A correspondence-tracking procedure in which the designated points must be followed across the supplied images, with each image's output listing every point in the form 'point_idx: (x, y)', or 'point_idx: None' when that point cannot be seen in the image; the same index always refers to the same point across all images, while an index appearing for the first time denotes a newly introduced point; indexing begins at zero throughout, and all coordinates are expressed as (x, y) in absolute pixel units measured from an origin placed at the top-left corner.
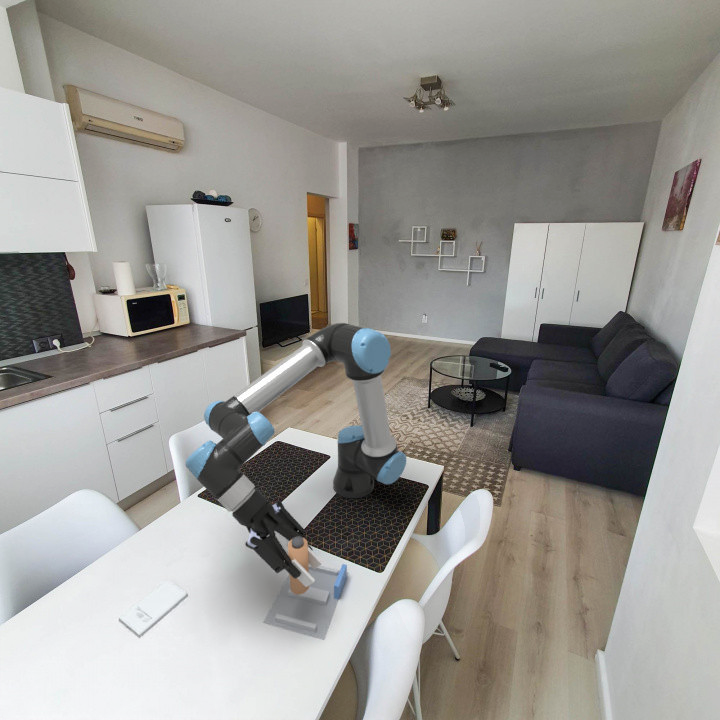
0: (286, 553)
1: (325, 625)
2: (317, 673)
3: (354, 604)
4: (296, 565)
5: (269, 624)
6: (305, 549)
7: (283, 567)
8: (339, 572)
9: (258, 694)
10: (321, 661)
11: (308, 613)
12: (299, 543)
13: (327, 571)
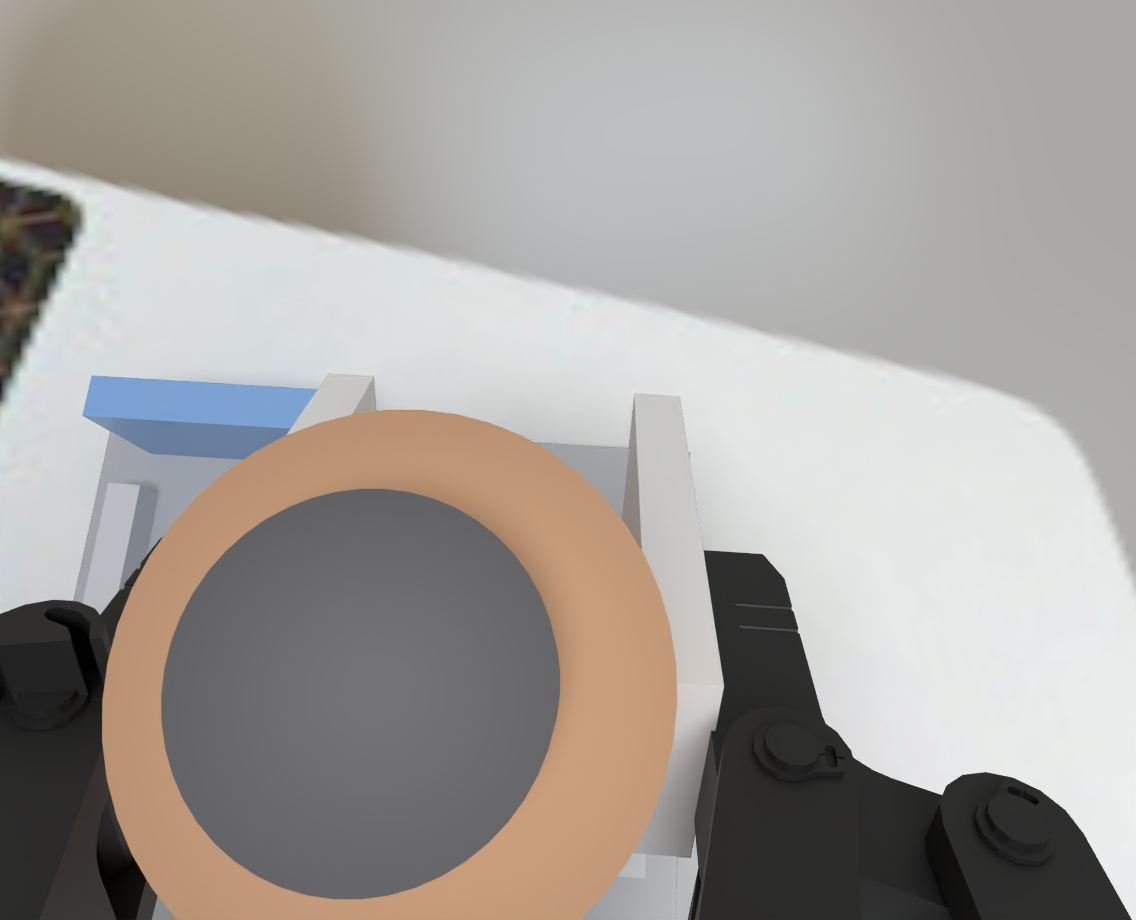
0: (717, 908)
1: (589, 470)
2: (868, 451)
3: (369, 335)
4: (708, 622)
5: (674, 905)
6: (501, 434)
7: (1059, 824)
8: (184, 418)
9: (1097, 773)
10: (794, 447)
11: None
12: (474, 571)
13: (128, 574)
